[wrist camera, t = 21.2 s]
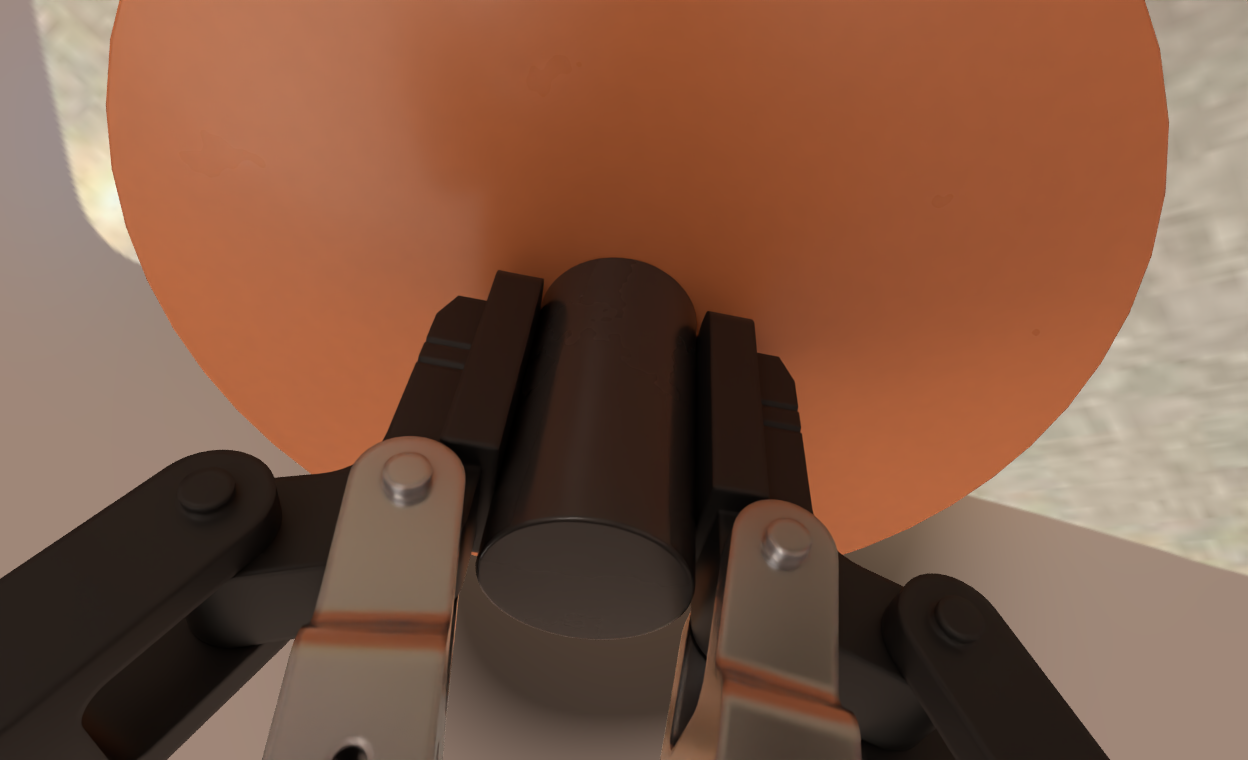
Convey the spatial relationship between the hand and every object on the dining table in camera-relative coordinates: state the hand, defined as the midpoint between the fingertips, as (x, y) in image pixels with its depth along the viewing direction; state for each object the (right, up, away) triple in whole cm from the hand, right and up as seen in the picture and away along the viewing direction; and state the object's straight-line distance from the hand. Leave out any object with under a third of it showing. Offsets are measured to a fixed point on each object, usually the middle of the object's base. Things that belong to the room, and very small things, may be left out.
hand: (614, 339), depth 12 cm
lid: (0, +1, +1) cm, 1 cm away
